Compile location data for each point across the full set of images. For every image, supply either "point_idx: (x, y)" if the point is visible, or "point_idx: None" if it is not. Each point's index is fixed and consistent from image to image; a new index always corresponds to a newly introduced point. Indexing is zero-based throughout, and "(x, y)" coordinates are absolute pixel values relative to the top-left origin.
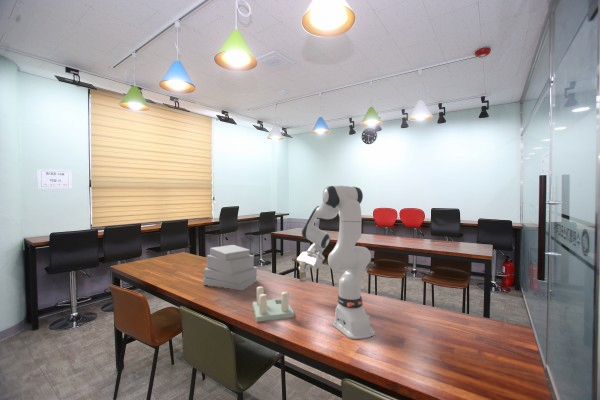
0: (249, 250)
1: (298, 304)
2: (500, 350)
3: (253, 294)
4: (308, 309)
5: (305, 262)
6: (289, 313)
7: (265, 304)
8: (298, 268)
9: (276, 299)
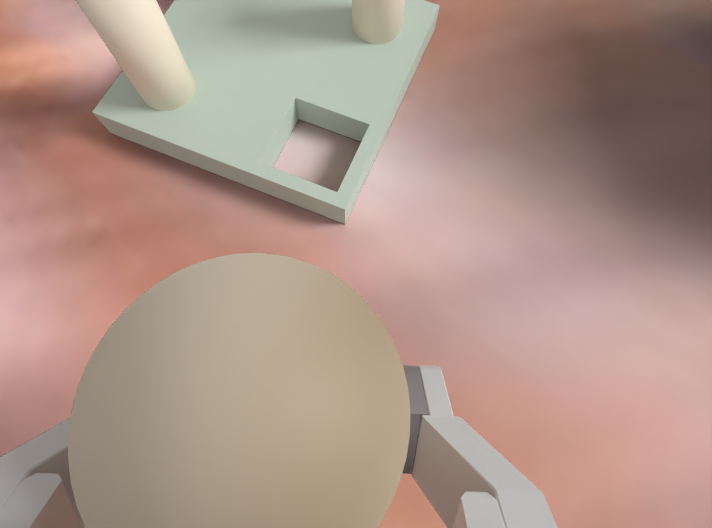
0: None
1: None
2: None
3: (634, 121)
4: (111, 284)
5: (84, 487)
6: (112, 89)
7: None
8: (428, 366)
9: (373, 142)
